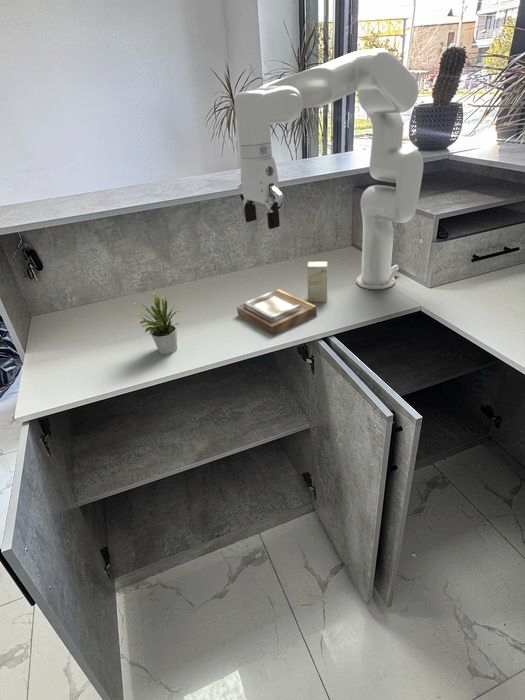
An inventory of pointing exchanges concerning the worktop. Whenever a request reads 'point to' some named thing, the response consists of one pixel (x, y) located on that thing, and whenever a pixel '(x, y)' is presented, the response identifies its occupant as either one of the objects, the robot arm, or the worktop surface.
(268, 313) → the dock
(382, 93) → the robot arm
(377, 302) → the worktop surface
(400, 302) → the worktop surface
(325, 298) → the skincare box
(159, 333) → the house plant
